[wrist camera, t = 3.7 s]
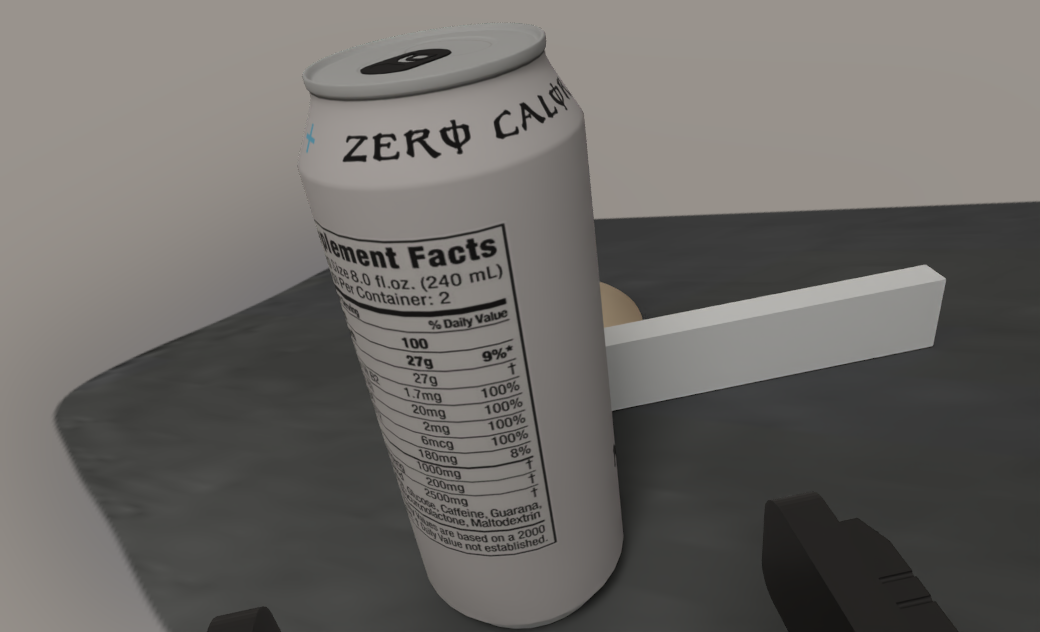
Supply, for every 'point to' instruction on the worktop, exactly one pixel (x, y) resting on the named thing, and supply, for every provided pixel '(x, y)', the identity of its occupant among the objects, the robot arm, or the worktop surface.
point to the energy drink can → (474, 306)
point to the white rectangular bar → (772, 336)
